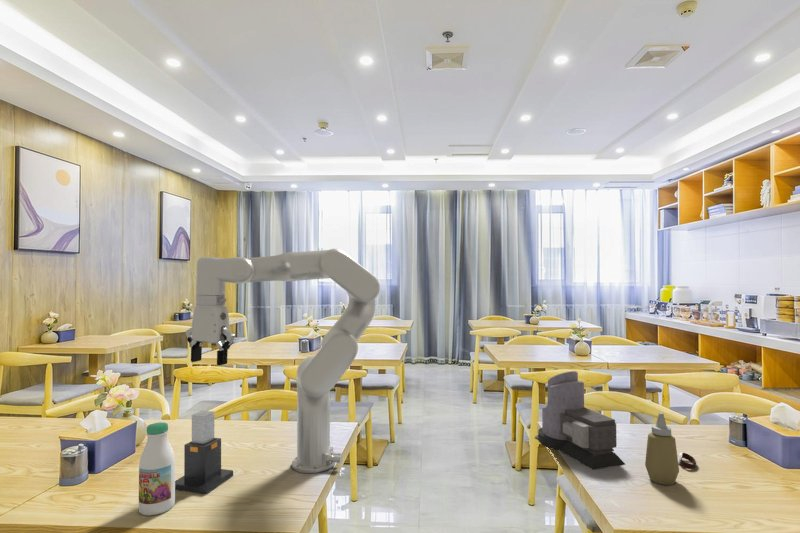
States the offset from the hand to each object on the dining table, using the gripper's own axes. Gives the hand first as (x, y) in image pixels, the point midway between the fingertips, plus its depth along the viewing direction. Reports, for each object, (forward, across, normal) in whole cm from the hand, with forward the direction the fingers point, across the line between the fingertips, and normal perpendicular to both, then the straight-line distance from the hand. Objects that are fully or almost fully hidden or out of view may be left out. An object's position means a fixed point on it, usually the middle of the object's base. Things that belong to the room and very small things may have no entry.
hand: (208, 362), depth 126 cm
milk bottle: (+32, -2, +17) cm, 36 cm away
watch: (+29, -123, -62) cm, 141 cm away
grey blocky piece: (+29, -92, -63) cm, 115 cm away
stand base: (+32, -2, +2) cm, 32 cm away
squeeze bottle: (+29, -115, -48) cm, 128 cm away
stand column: (+30, -1, +2) cm, 30 cm away
